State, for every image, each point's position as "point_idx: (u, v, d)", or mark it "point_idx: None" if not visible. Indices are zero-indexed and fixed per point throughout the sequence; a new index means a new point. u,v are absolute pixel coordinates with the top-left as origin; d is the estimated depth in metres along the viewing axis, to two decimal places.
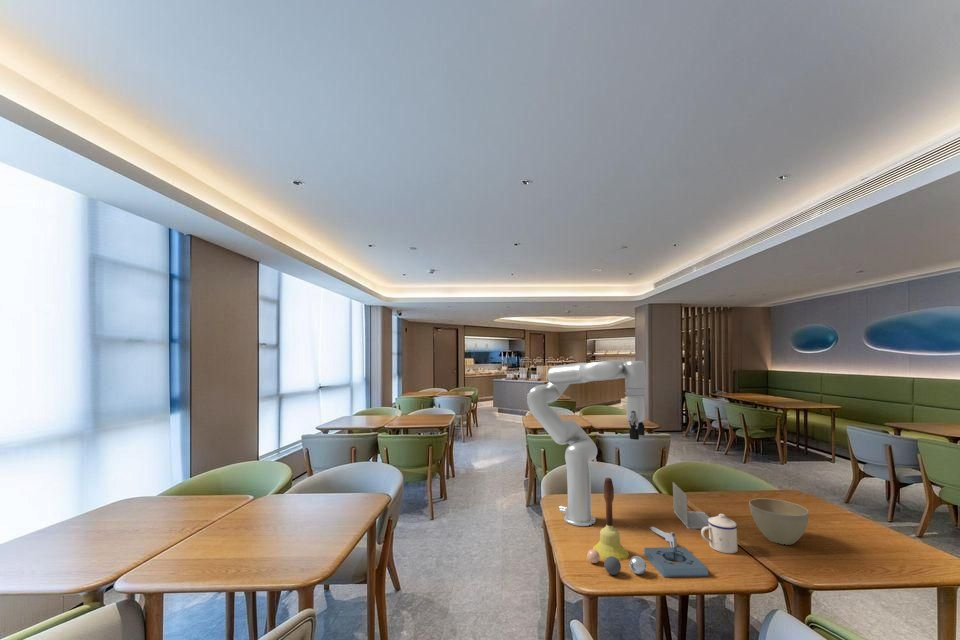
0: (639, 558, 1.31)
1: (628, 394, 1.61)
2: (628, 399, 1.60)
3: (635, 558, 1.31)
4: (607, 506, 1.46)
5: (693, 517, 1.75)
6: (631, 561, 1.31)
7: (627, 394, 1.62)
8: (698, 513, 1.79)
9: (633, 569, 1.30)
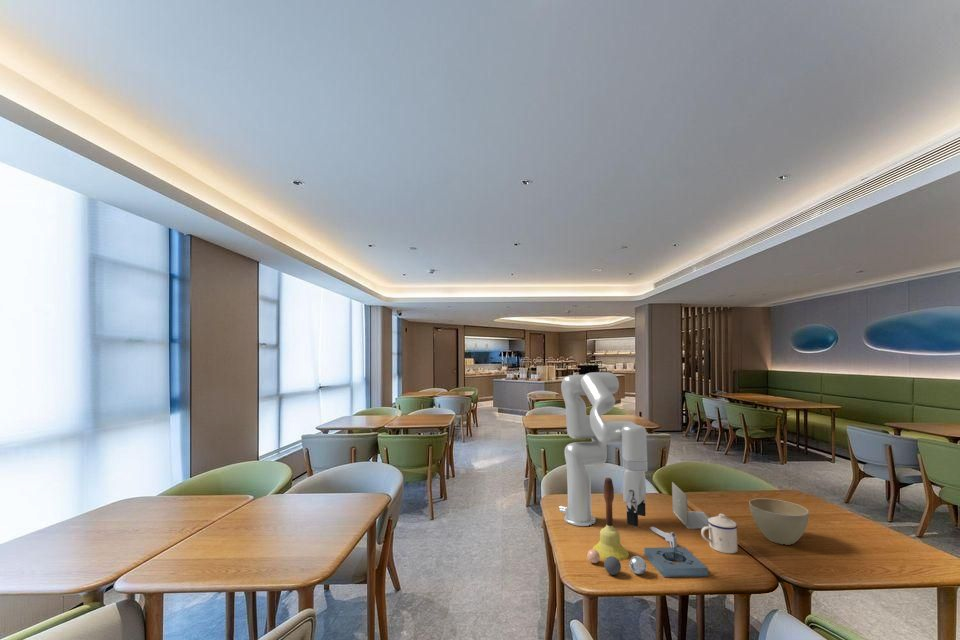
0: (639, 558, 1.31)
1: (625, 467, 1.32)
2: (625, 474, 1.31)
3: (635, 558, 1.31)
4: (607, 506, 1.46)
5: (692, 517, 1.75)
6: (631, 561, 1.31)
7: (624, 467, 1.33)
8: (697, 513, 1.79)
9: (633, 569, 1.30)
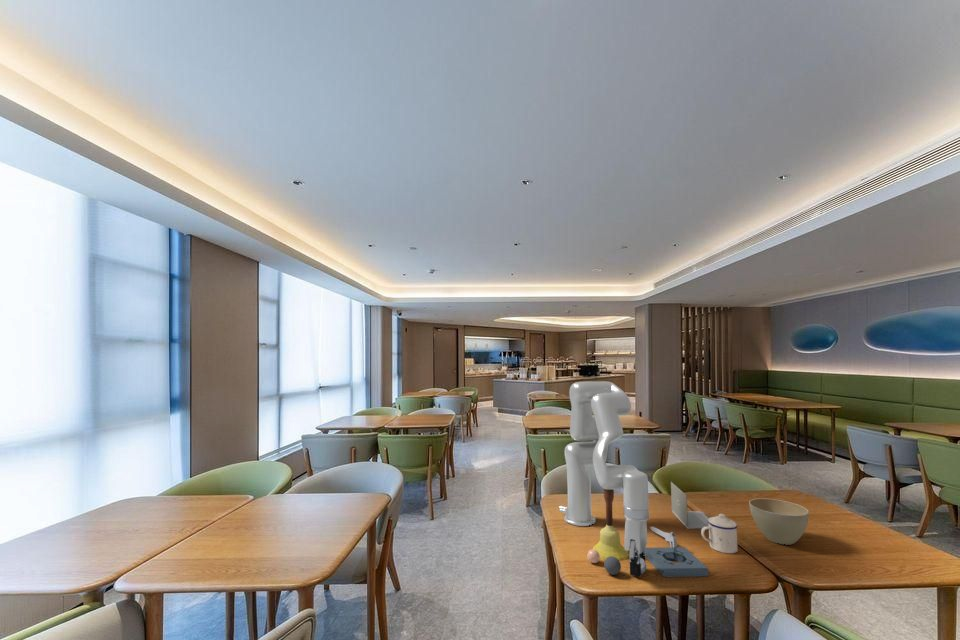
0: None
1: (626, 515, 1.31)
2: (626, 523, 1.30)
3: None
4: (607, 506, 1.46)
5: (691, 517, 1.75)
6: None
7: (625, 515, 1.32)
8: (696, 513, 1.79)
9: None
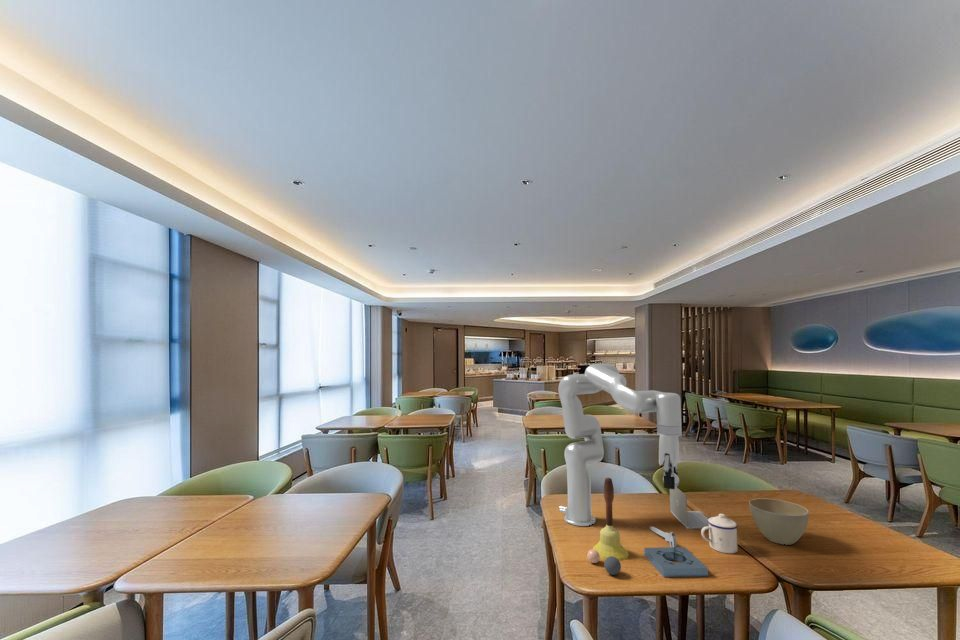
0: None
1: (660, 432, 1.38)
2: (660, 439, 1.37)
3: None
4: (607, 506, 1.46)
5: (690, 517, 1.75)
6: None
7: (659, 432, 1.39)
8: (694, 512, 1.80)
9: None
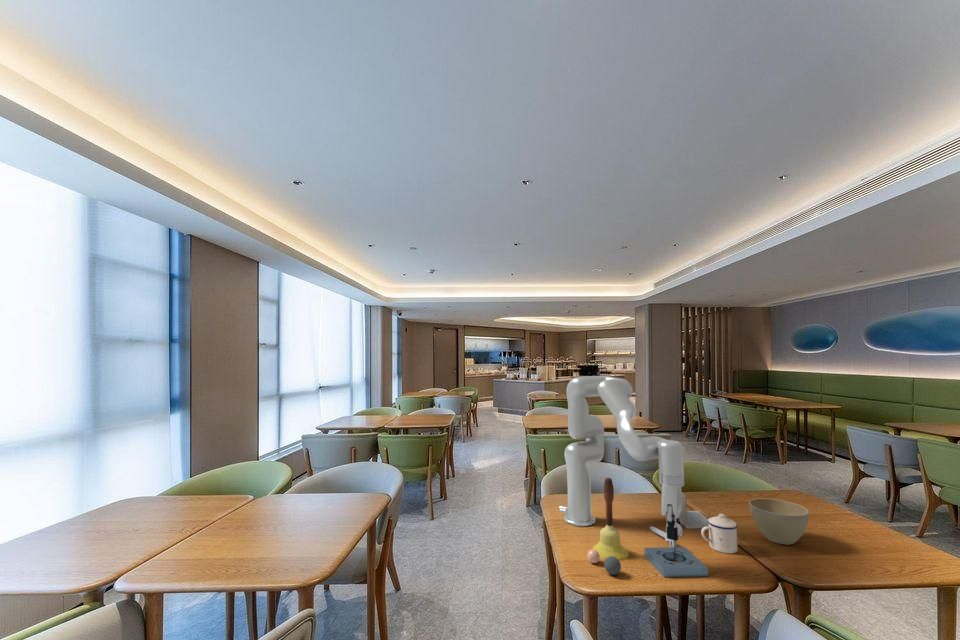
0: None
1: (663, 482, 1.37)
2: (663, 489, 1.36)
3: None
4: (607, 506, 1.46)
5: (689, 516, 1.75)
6: None
7: (661, 482, 1.37)
8: (693, 512, 1.80)
9: None
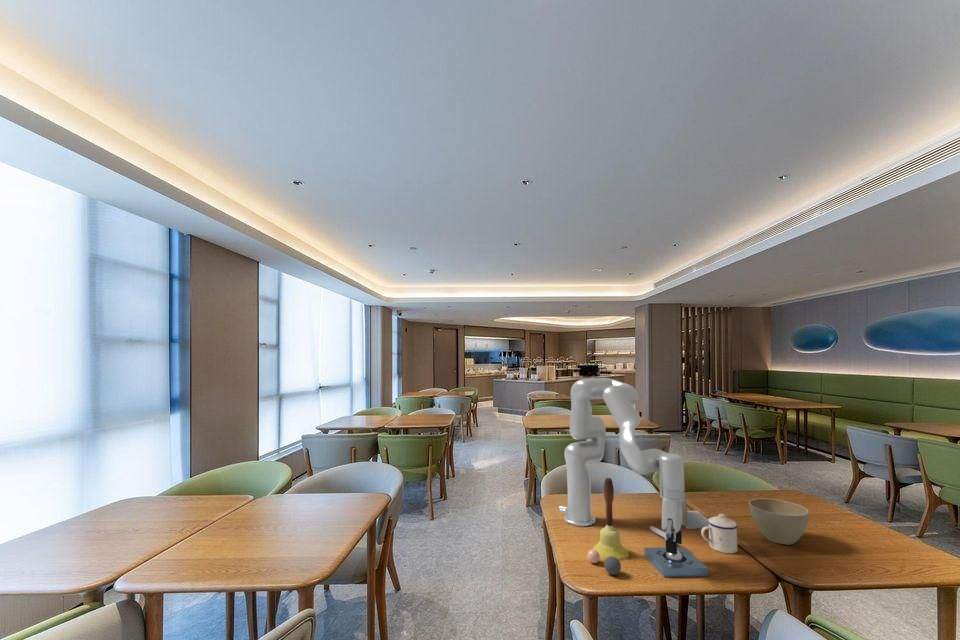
0: None
1: (663, 496, 1.37)
2: (663, 503, 1.35)
3: None
4: (607, 506, 1.46)
5: (689, 516, 1.75)
6: (668, 553, 1.36)
7: (662, 495, 1.37)
8: (692, 512, 1.80)
9: None
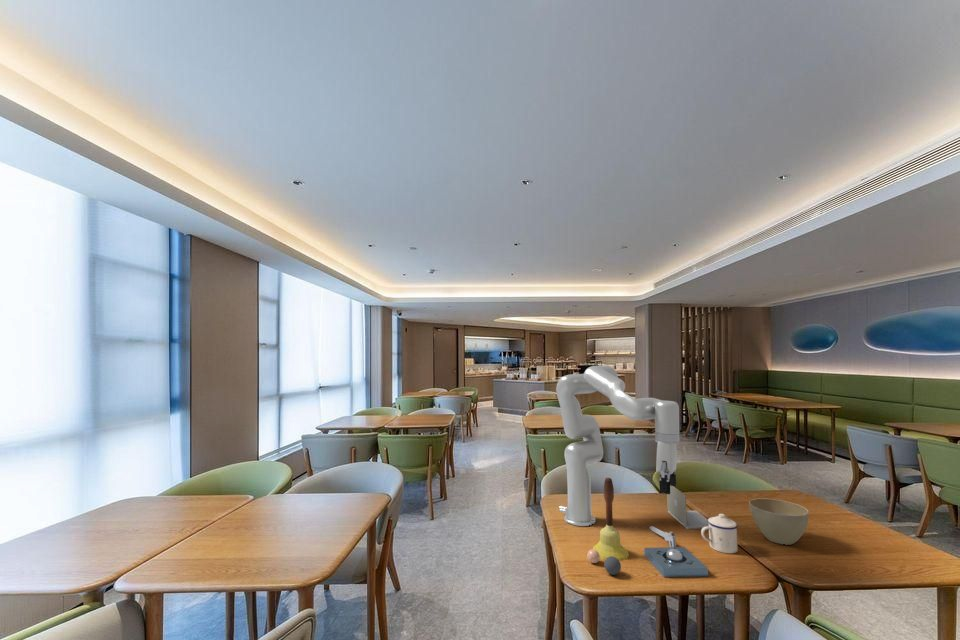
0: (676, 551, 1.36)
1: (658, 440, 1.40)
2: (658, 446, 1.39)
3: (672, 551, 1.36)
4: (607, 506, 1.46)
5: (688, 516, 1.75)
6: (668, 553, 1.36)
7: (657, 440, 1.41)
8: (691, 512, 1.80)
9: None
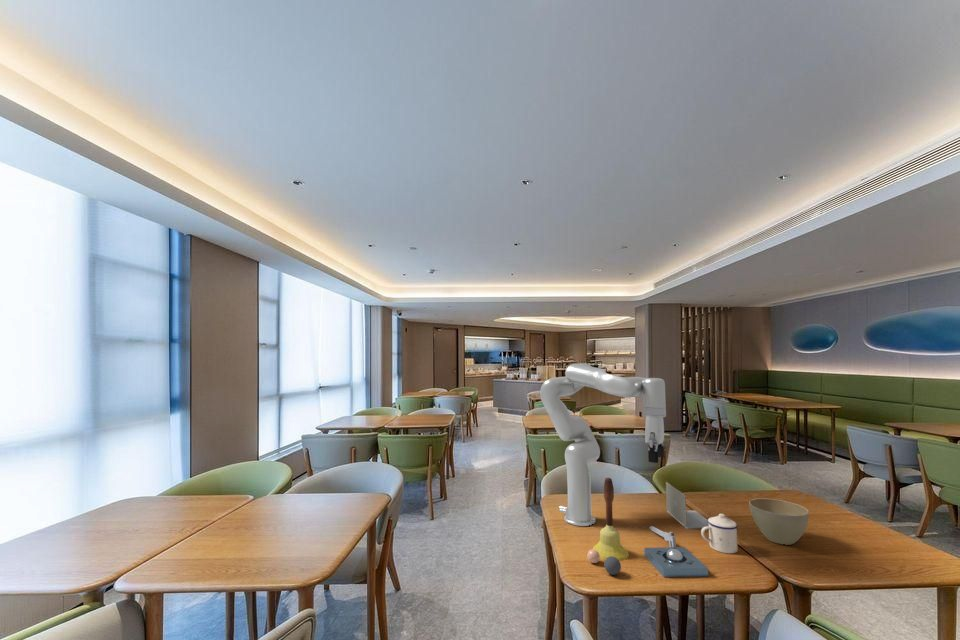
0: (676, 551, 1.36)
1: (647, 414, 1.52)
2: (647, 419, 1.51)
3: (672, 551, 1.36)
4: (607, 506, 1.46)
5: (687, 516, 1.76)
6: (668, 554, 1.36)
7: (645, 414, 1.53)
8: (690, 512, 1.80)
9: None
